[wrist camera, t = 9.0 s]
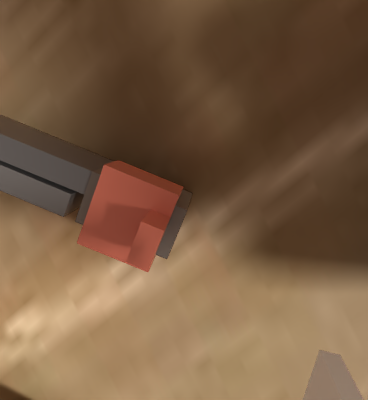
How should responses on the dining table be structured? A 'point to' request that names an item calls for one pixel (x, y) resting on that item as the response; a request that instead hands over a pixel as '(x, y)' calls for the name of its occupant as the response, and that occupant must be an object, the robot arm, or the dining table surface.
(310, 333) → the dining table surface
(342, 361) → the robot arm
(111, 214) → the lock tab
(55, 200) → the arm
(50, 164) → the tongs base
